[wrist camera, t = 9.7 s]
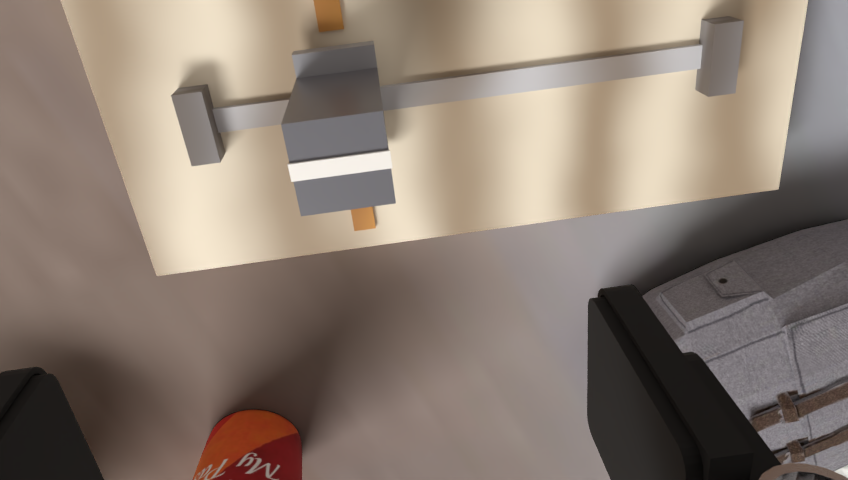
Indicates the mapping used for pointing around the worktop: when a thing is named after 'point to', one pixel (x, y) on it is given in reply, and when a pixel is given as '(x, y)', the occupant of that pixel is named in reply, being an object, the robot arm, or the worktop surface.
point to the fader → (337, 131)
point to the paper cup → (252, 449)
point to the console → (437, 112)
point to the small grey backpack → (774, 337)
